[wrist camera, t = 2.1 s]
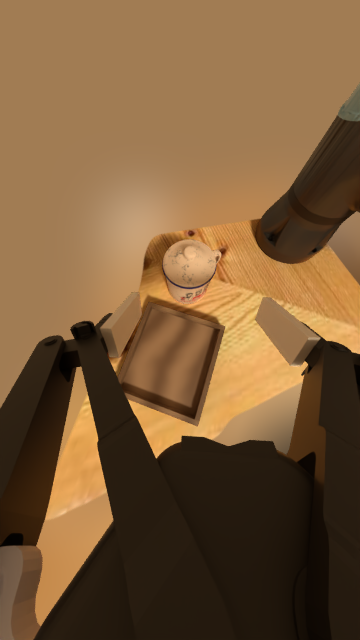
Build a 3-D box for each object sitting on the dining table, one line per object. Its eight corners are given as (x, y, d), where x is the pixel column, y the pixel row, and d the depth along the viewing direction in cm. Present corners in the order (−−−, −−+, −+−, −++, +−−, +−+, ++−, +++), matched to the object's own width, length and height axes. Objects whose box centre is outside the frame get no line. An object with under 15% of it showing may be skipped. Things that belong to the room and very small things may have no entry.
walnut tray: (221, 328, 30) (225, 326, 28) (196, 419, 26) (197, 426, 24) (151, 305, 31) (148, 301, 29) (117, 389, 28) (111, 392, 25)
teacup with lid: (181, 313, 31) (181, 290, 19) (159, 281, 33) (147, 243, 21) (225, 284, 32) (249, 248, 21) (202, 255, 34) (212, 207, 23)
